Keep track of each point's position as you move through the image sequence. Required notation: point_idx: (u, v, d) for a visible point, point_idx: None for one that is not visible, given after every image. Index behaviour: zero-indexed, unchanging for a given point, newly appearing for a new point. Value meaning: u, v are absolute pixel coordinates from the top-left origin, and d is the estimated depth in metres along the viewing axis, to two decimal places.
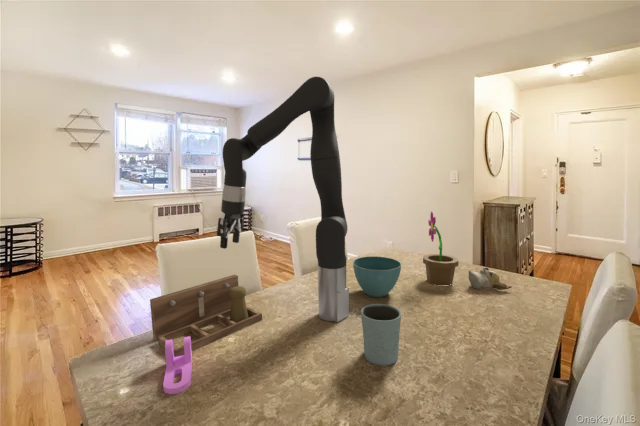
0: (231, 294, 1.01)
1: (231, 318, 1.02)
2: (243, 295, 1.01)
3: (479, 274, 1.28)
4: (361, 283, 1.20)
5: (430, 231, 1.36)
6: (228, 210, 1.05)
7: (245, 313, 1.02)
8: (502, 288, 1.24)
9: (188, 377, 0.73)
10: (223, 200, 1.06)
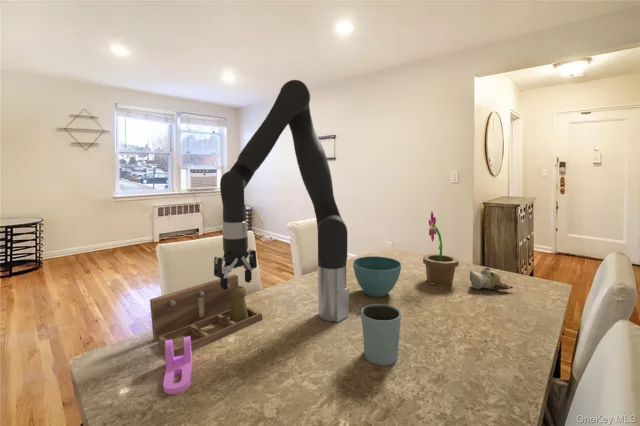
0: (231, 294, 1.01)
1: (231, 318, 1.02)
2: (243, 295, 1.01)
3: (480, 274, 1.27)
4: (361, 283, 1.20)
5: (430, 231, 1.36)
6: (225, 248, 0.98)
7: (245, 313, 1.02)
8: (503, 288, 1.24)
9: (188, 377, 0.73)
10: None
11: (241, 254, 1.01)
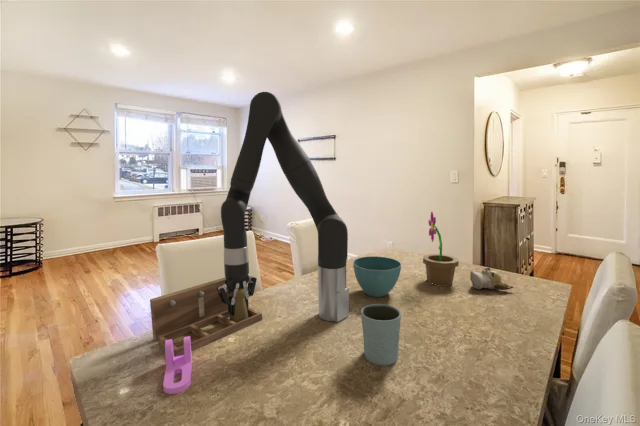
0: None
1: (231, 318, 1.02)
2: (243, 295, 1.01)
3: (481, 274, 1.27)
4: (361, 283, 1.20)
5: (430, 231, 1.36)
6: (227, 274, 0.99)
7: (245, 313, 1.02)
8: (504, 288, 1.24)
9: (188, 377, 0.74)
10: (224, 263, 1.00)
11: (242, 279, 1.02)
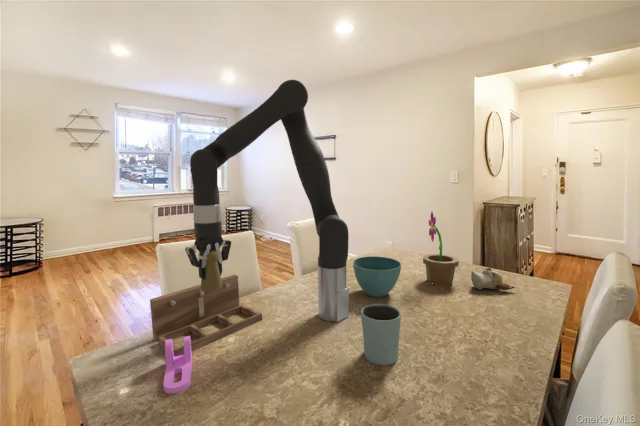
0: (202, 256, 0.92)
1: (202, 283, 0.93)
2: (215, 258, 0.93)
3: (482, 275, 1.27)
4: (361, 283, 1.20)
5: (430, 231, 1.36)
6: (197, 233, 0.90)
7: (217, 278, 0.94)
8: (505, 288, 1.24)
9: (188, 376, 0.74)
10: None
11: (215, 240, 0.94)
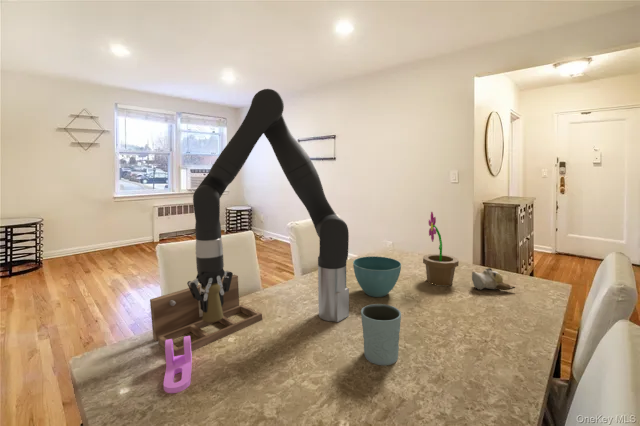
0: None
1: (204, 315, 0.95)
2: (217, 291, 0.94)
3: (483, 275, 1.27)
4: (361, 283, 1.20)
5: (430, 231, 1.36)
6: (199, 267, 0.92)
7: (219, 310, 0.95)
8: (506, 288, 1.24)
9: (188, 376, 0.74)
10: None
11: (216, 273, 0.95)
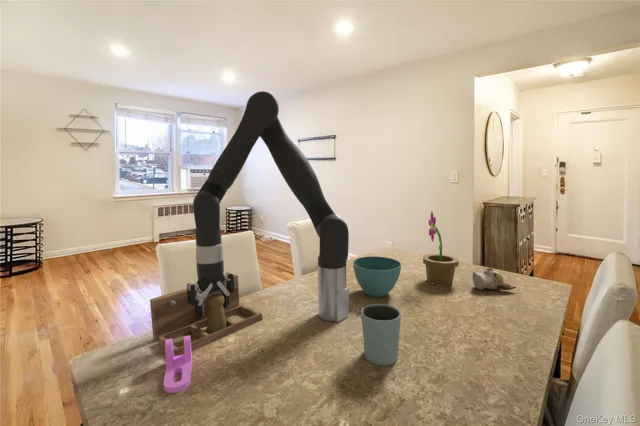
0: (207, 302, 0.95)
1: (208, 327, 0.96)
2: (220, 303, 0.95)
3: (483, 275, 1.27)
4: (361, 283, 1.20)
5: (430, 231, 1.36)
6: (199, 273, 0.92)
7: (222, 322, 0.96)
8: (506, 289, 1.24)
9: (188, 376, 0.74)
10: None
11: (217, 278, 0.95)
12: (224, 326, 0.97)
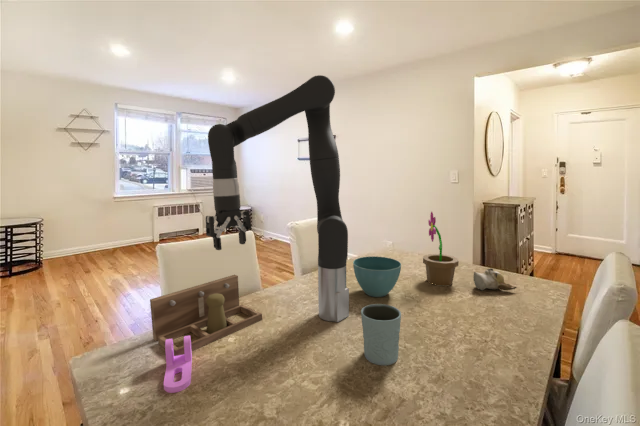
0: (207, 302, 0.95)
1: (208, 327, 0.96)
2: (220, 303, 0.95)
3: (484, 275, 1.26)
4: (361, 283, 1.20)
5: (430, 231, 1.36)
6: (217, 206, 0.94)
7: (222, 322, 0.96)
8: (507, 289, 1.24)
9: (188, 376, 0.74)
10: None
11: (234, 213, 0.97)
12: (224, 326, 0.97)
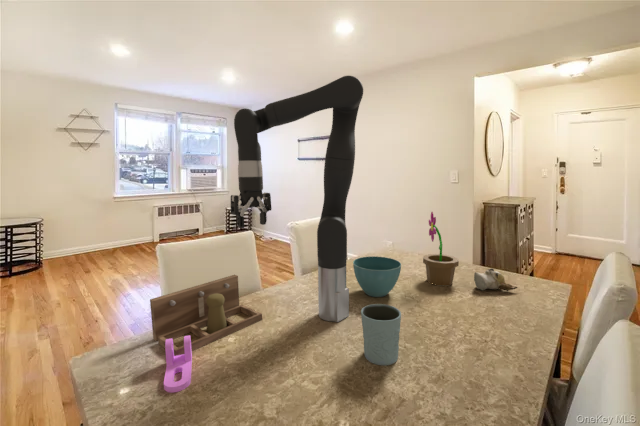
0: (207, 302, 0.95)
1: (208, 327, 0.96)
2: (220, 303, 0.95)
3: (485, 275, 1.26)
4: (361, 283, 1.20)
5: (430, 231, 1.36)
6: (241, 186, 0.99)
7: (222, 322, 0.96)
8: (508, 289, 1.24)
9: (188, 376, 0.74)
10: (238, 177, 1.01)
11: (256, 194, 1.03)
12: (224, 326, 0.97)
